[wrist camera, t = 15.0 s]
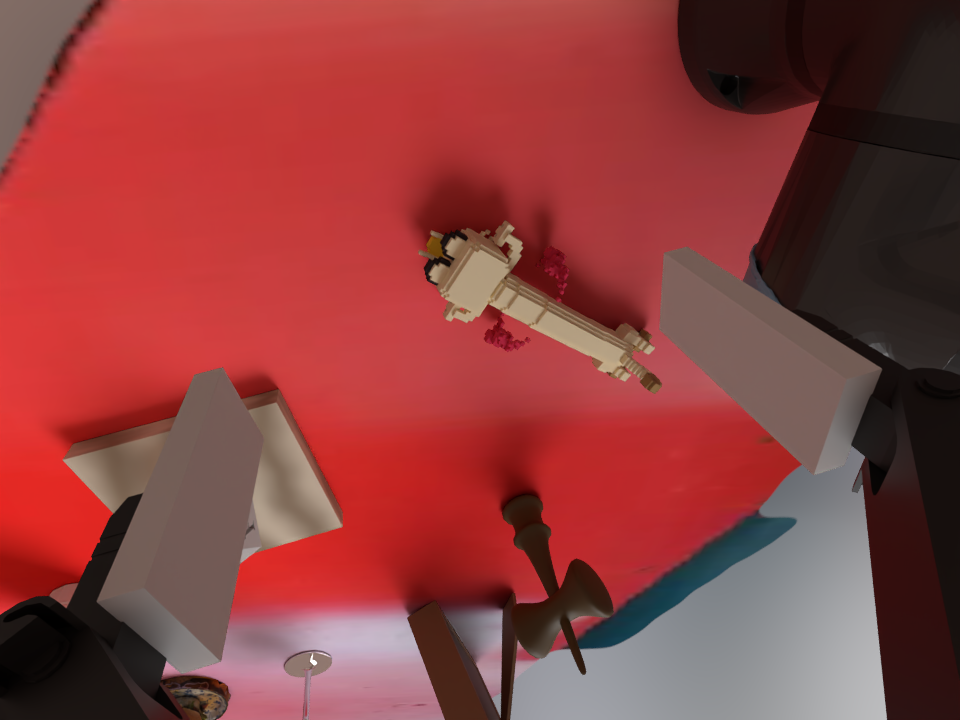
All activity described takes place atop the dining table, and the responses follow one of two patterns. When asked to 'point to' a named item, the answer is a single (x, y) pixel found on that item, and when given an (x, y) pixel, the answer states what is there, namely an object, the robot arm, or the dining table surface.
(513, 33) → the dining table surface
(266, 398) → the birch board
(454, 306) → the cat figure
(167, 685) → the burger
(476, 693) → the photo frame
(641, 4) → the dining table surface
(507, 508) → the kendama
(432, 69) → the dining table surface
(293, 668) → the wineglass
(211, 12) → the dining table surface
